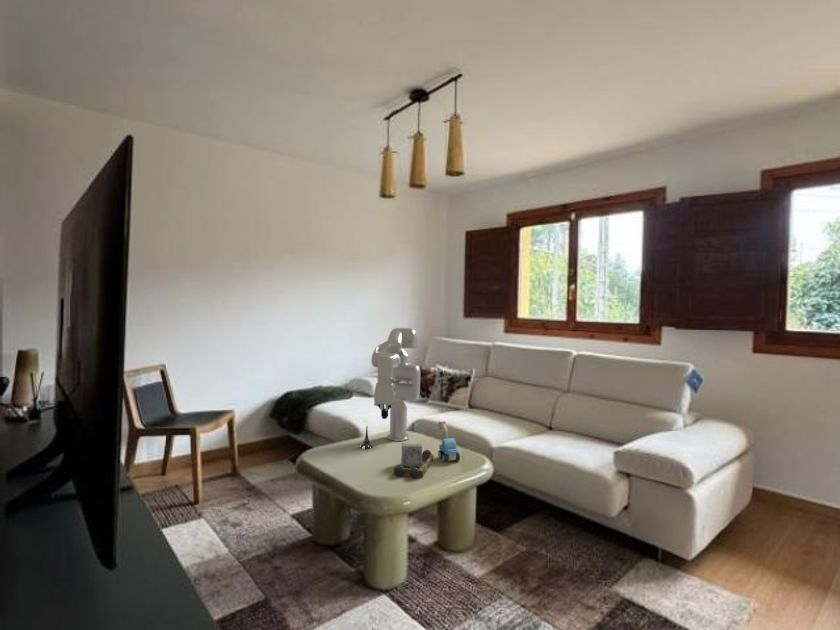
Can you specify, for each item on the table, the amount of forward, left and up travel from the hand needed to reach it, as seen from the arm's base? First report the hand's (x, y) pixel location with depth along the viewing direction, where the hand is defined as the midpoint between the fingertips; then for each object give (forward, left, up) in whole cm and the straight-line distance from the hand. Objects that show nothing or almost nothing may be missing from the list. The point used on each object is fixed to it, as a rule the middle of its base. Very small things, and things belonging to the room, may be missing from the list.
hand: (384, 418), depth 221 cm
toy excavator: (-17, +28, -22) cm, 40 cm away
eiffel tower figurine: (-19, -16, -23) cm, 34 cm away
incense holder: (-1, +14, -22) cm, 26 cm away
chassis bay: (+1, +16, -22) cm, 27 cm away
